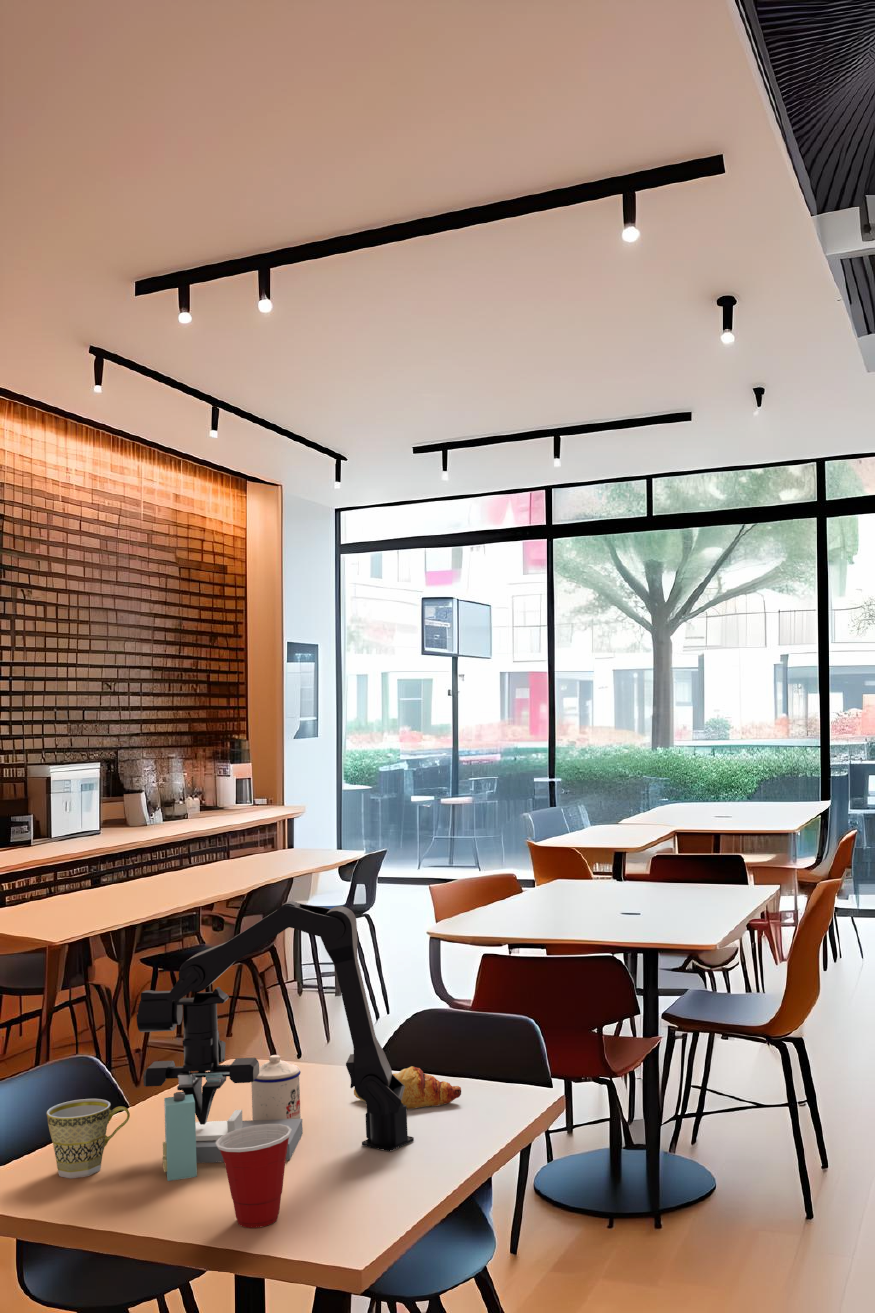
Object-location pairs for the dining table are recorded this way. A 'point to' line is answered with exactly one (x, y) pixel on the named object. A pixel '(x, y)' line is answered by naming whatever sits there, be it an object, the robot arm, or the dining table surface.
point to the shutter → (218, 1127)
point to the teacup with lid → (276, 1091)
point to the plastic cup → (255, 1171)
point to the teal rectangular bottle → (180, 1137)
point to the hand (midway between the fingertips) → (203, 1124)
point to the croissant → (424, 1089)
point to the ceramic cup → (81, 1135)
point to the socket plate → (210, 1151)
